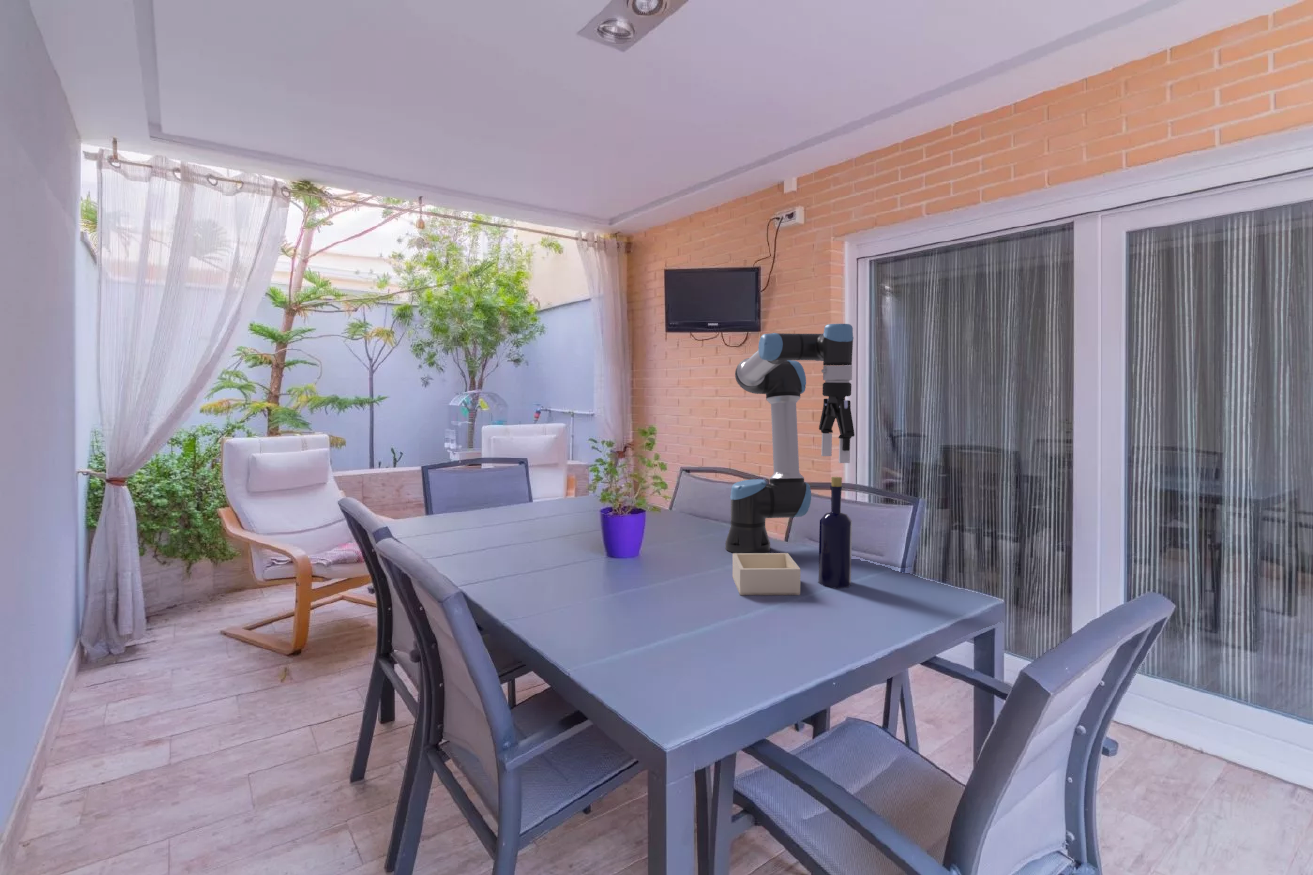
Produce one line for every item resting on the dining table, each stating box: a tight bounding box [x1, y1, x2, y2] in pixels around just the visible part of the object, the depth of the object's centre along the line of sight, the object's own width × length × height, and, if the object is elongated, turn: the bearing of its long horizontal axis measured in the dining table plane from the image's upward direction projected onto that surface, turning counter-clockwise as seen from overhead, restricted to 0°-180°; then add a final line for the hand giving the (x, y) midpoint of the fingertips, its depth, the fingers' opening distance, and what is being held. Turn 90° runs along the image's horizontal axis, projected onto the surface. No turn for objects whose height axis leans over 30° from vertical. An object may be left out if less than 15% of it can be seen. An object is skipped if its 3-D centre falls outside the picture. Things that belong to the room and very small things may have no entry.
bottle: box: [817, 476, 853, 589], centre depth 176 cm, size 9×9×30 cm
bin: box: [732, 552, 802, 596], centre depth 175 cm, size 16×16×7 cm
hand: (834, 459), depth 173 cm, fingers open, 13 cm apart
